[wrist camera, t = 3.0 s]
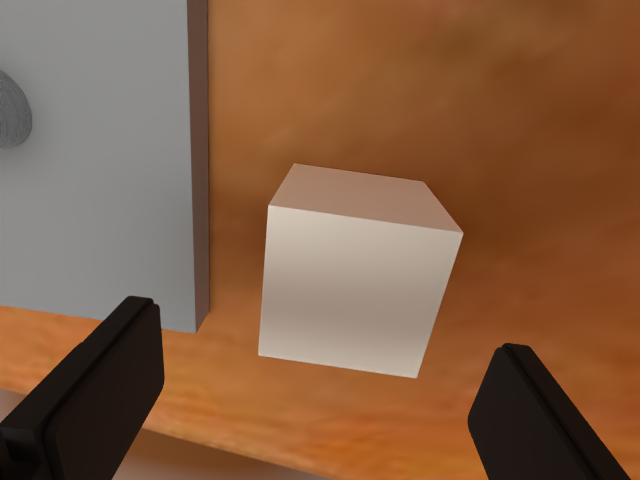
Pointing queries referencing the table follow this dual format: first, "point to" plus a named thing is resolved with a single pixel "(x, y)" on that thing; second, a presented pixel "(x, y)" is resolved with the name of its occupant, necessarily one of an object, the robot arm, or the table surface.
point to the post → (13, 113)
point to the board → (107, 158)
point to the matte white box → (354, 270)
